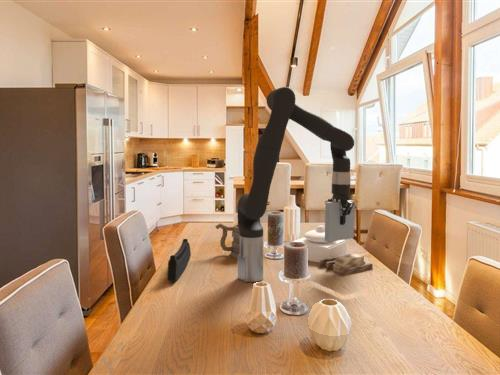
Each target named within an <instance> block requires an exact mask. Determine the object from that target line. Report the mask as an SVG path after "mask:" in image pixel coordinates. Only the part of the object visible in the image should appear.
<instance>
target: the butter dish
mask: <svg viewBox="0 0 500 375" xmlns="http://www.w3.org/2000/svg"><path fill="white" fill-rule="evenodd" d="M293 242H303V243H305V244H306V245H307V248H308V260H307V261H311V262H316V263H319V264H320V260H321V259H326V258H332V257H337V256H342V255H347V241H346V239H345V240H339V241H332V242H327V241H325V225H321V224H320V225H318V226H317V227H315V229H312V230H309V231H306V232H305V233H304V235H303V237H301V238H299V239H295V240H293V241H292V243H293Z"/></svg>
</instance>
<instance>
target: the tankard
mask: <svg viewBox="0 0 500 375" xmlns="http://www.w3.org/2000/svg"><path fill="white" fill-rule="evenodd" d="M215 229H216V230H218V229H221V230H222V235H221V239H220V240H219V242H220V247H221V249H222V250H223V251H225V252H230V257H233V258H236V259H238V254H240V232H239V228H238V223H237V224H234V225H233V226H227V225H224V224H223V223H218V224H217V225H215ZM228 231H229V232H230V231H231V237H232V242H231V246H227V245H226V239H227V236H228Z"/></svg>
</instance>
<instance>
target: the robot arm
mask: <svg viewBox="0 0 500 375" xmlns="http://www.w3.org/2000/svg"><path fill="white" fill-rule="evenodd" d="M267 94H268V95H267V97H266V106H267V107H268V108H269V109H268V110H270V116H269V120H268V122H267V124H266V126H265V128H264V130H263V131H262V133H261V134H260V136H259V139H258V141H257V144H256V147H255V150H254V151H255V152H254V153H253V154H254V155H253V162H252V174H253V175H252V176H253V177H252V183H251V187H250V190H249V193H245V194H243V195H240V198H239V199H238V201H237V206H236V207H237V209H236V210H237V211H236V212H237V213H236V215H237V224H238V228H239V232H240V254H238V258H237V278H238V279H239V280H240V281H242V282H244V283H255V282H260V281H262V280H264V228H263V226H262V224H261V219H262V217H263V216H264V214H265V213H266V211H267V208H268V207H267V206H268V201H269V194H270V190H271V189H270V188H271V186H272V185H271V184H272V181H273V178H274V175H275V170H276V167H277V164H278V160H279V157H280V153H281V149H282V145H283V142H284V139H285V134H286V129H287V126H288V123H289V122H290V121H289V120H291V121H293V122H295V123H296V124H297V125H300V126H301V127H303V128H304V129H306V130H307V131H309V132H310V133H312V134H313V135H315V136H316V137H317V138H318V139H319V138H320V139H321V140H323V141H325V142H326V141H327V142H329V143H330V145H329V146H330V153H331V159H332V173H331V174H332V175H331V194H332V197H331V198H328V199H327V201H328V202H339V210H340V215H341V216H340V225H344V224H345V222H346V215H349V214H350V212H351V210H352V208H353V205H354V202H351V201H349V200H350V197H349V196H350V194H351V177H352V176H351V159H350V158H349V157H348V156H347V152H349V151H351V150H352V149H353V148H354V145H355V139H354V138H353V136H352V135H351V134H350V133H348V132H347V131H345V130H342V129H341V128H338V127H336V126H334V125H333V124H332V123H331V122H329V121H328V120H326V119H324V118H323V117H321V116H320V115H317V114H316V113H313V112H312V111H309V110H307V109H304V108H302V107H300V106H299V105H298V104H296V95H295V92H294V91H293V89H291V88H290V87H288V86H282V87H278V88H275V89H273V90H271V91H270V92H269V93H267ZM343 207H344V208H343ZM343 210H344V213H343ZM347 211H348V212H347Z"/></svg>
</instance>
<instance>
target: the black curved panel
mask: <svg viewBox="0 0 500 375" xmlns="http://www.w3.org/2000/svg"><path fill="white" fill-rule="evenodd" d="M190 259H191V246H190V243H189V241H188V239H187V238H183V239H182V242H181V245H180V247H179V248H178V250H177V251H176V252H175V253H174V254H171V255H170V256H169V260H168V262H167V279H166V280H167V282H176V281H177V280H178V279H179V278H180V277H181V276H182V275H183V274H184V272H185V270H186V268H187V266H188V264H189V261H190Z"/></svg>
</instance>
